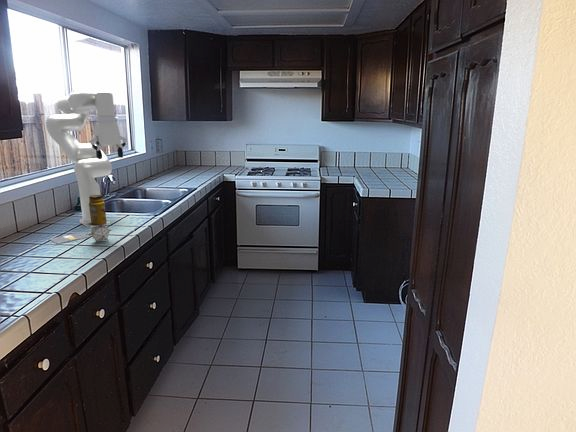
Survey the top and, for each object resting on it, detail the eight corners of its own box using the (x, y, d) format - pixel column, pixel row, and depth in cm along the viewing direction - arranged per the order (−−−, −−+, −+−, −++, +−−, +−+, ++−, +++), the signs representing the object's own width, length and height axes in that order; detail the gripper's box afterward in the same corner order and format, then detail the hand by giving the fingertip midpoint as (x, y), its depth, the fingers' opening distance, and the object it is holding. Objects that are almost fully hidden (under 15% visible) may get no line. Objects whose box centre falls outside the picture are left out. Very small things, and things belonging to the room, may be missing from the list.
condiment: (111, 222, 181) (108, 195, 178) (94, 227, 174) (90, 198, 171) (99, 220, 184) (96, 193, 181) (82, 225, 177) (78, 197, 174)
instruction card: (48, 239, 184) (48, 238, 184) (81, 232, 195) (81, 232, 194) (57, 244, 178) (57, 243, 178) (90, 237, 188) (90, 236, 188)
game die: (105, 250, 181) (107, 235, 175) (84, 244, 180) (86, 229, 173) (112, 235, 188) (115, 220, 182) (92, 229, 186) (94, 214, 180)
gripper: (120, 119, 199) (124, 156, 203) (83, 120, 186) (87, 159, 190) (128, 119, 194) (132, 157, 198) (90, 120, 181) (95, 160, 185)
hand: (110, 158), depth 194 cm, fingers open, 9 cm apart
